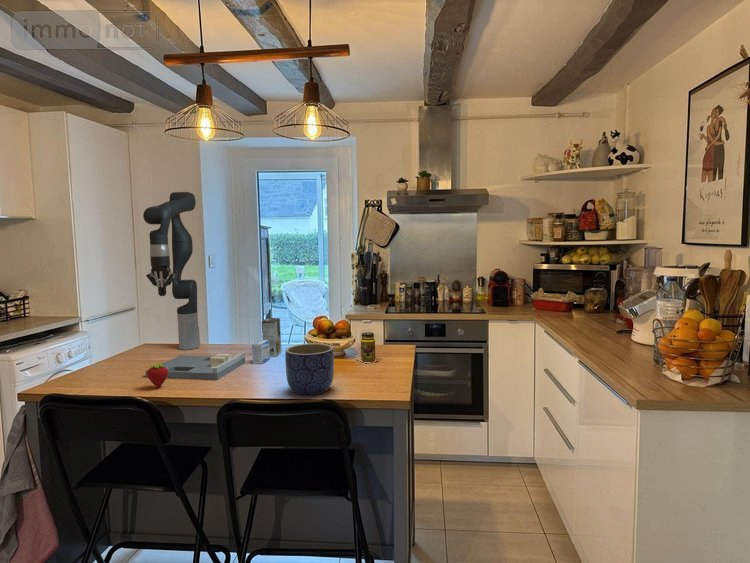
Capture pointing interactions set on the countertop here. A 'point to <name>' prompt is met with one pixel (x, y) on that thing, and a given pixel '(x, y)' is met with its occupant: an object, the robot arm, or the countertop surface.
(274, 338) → the coffee box
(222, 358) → the birch block
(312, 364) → the planter
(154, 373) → the strawberry
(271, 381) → the countertop surface
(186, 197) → the robot arm
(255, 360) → the medicine box
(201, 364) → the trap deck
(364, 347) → the condiment
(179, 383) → the countertop surface
